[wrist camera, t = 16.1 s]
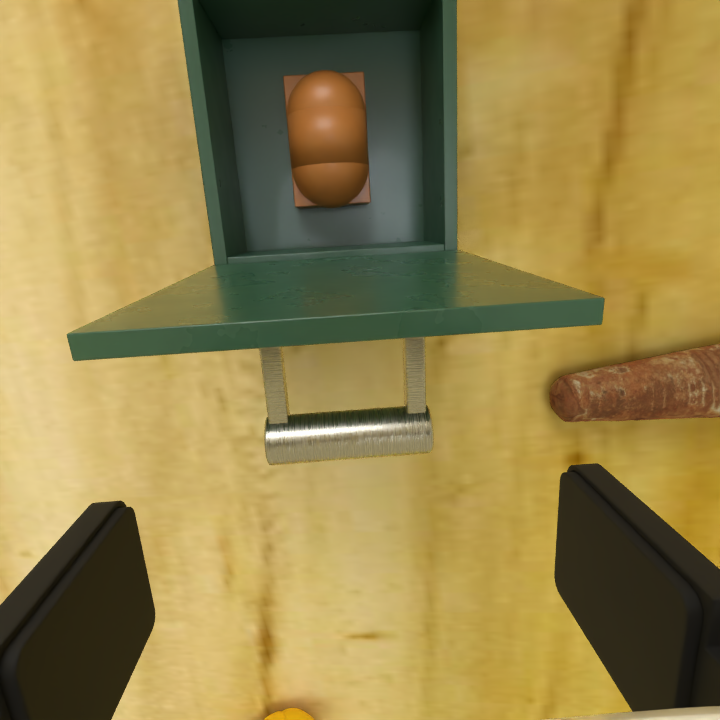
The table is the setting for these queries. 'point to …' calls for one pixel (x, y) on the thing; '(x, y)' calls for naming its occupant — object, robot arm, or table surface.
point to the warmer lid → (337, 331)
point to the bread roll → (328, 138)
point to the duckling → (289, 715)
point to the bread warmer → (270, 132)
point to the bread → (643, 389)
